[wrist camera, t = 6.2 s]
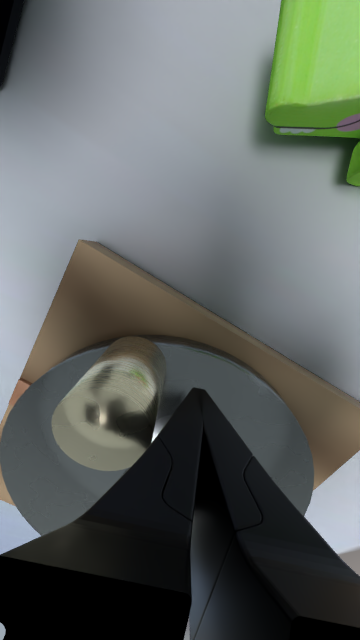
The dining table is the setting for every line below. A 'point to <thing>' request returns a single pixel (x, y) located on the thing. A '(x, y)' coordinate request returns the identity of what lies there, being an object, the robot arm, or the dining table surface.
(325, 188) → the dining table surface
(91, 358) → the handwheel
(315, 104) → the toy crocodile
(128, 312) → the wheel base
